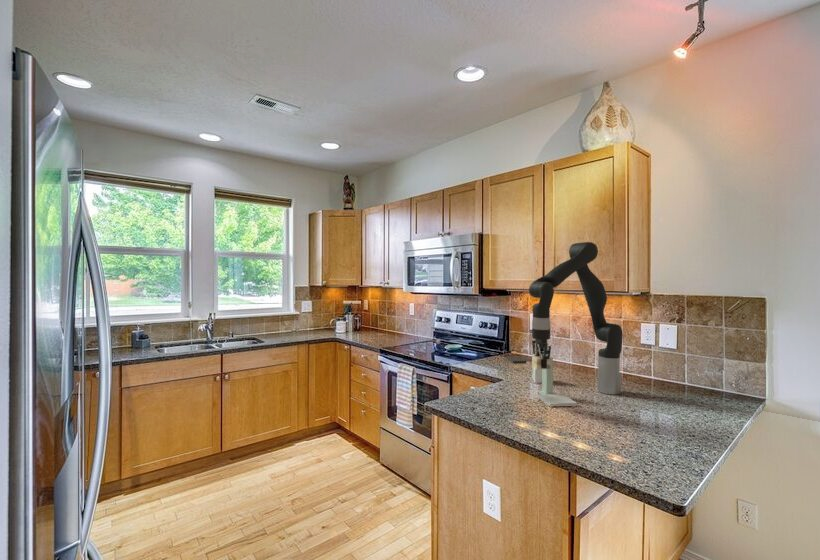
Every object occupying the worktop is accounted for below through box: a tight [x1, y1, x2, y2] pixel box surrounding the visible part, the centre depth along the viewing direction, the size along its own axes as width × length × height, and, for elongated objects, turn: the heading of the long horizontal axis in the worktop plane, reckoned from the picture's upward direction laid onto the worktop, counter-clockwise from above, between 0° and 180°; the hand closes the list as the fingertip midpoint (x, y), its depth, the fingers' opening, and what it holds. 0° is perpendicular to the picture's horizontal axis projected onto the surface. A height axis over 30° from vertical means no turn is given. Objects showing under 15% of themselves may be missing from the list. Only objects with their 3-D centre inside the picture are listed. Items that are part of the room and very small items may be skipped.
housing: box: [531, 355, 550, 369], centre depth 169 cm, size 6×5×5 cm
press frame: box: [537, 356, 578, 407], centre depth 175 cm, size 12×18×18 cm, turn 6°
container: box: [531, 366, 542, 384], centre depth 205 cm, size 8×8×13 cm
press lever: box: [505, 355, 532, 365], centre depth 180 cm, size 20×10×2 cm, turn 96°
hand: (541, 366), depth 169 cm, fingers closed on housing, 5 cm apart
